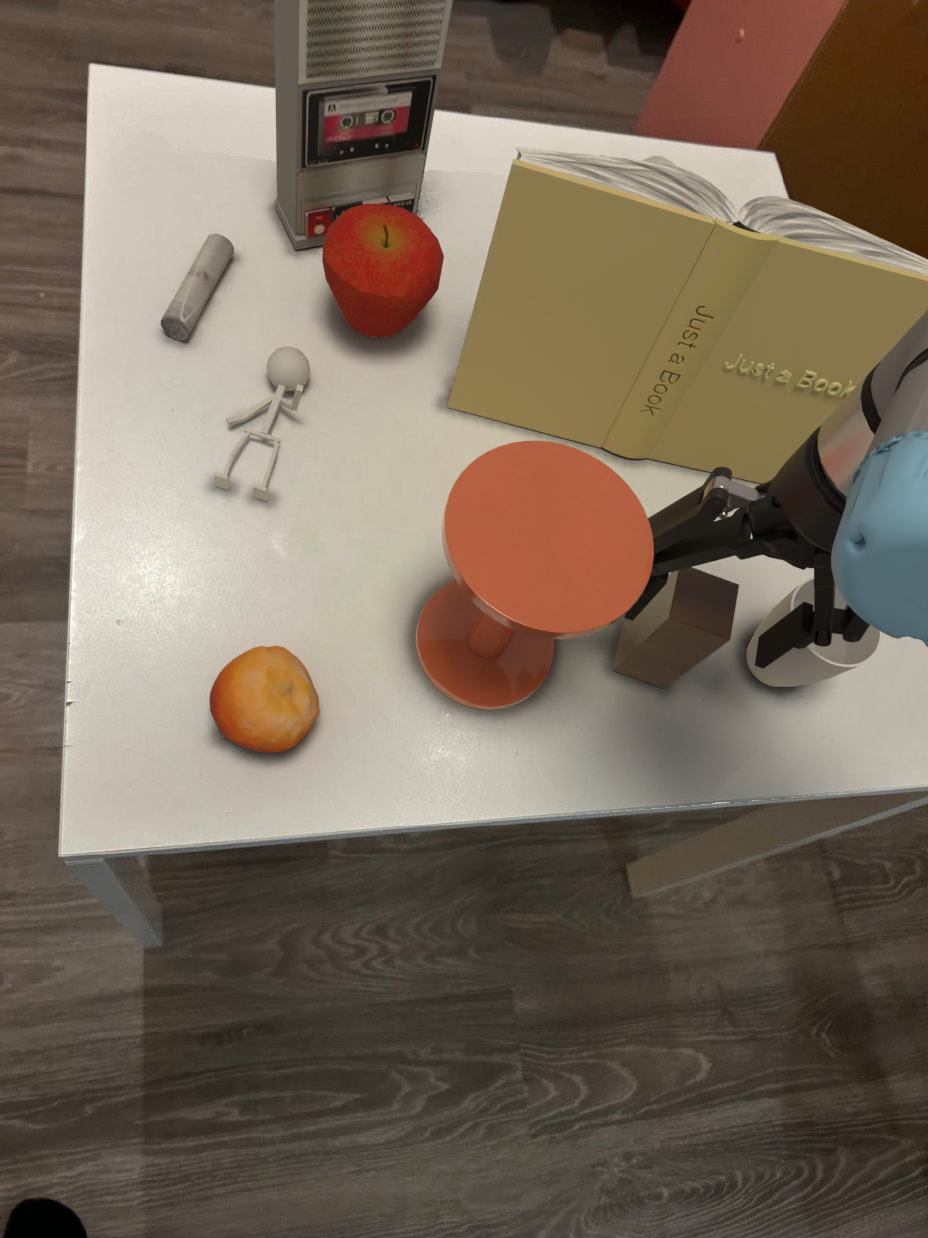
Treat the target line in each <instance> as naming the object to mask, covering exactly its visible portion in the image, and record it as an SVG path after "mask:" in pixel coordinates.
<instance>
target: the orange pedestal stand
mask: <svg viewBox="0 0 928 1238" xmlns="http://www.w3.org/2000/svg"><path fill="white" fill-rule="evenodd" d="M648 518H649V517H648V516H647V513H646V511H645V509H644V506H643V505H642V503H641V500H639V497H638V496H637V494H635V491H633V489H632V488H631V487H630V485H629V484H628V483H627V482H626V481H625V480H624V479H623V478H622V477H621V475H619V474H618V473H617V472H616V471H615V470H613V469H612V467H610V466H608V465H607V464H606V463H604V462H603V461H601V460H600V459H598V458H597V457H595V456H594V455H591V454H589V453H588V452H585V451H583V450H581V449H578V448H576V447H573V446H569V445H567V444H563V443H559V442H553V441H547V440H521V441H515V442H510V443H507V444H502V445H500V446H497V447H495V448H494V447H493V448H492V449H490V450H488V451H486V452H484V453H483V454H481V455H480V456H477V458H475V459H474V460H473V461H472V462H470V463H469V464H468V465H467V466H466V467H465V468H464V469H463V471H462V472H461V473H460V474H459V476H458V477H457V479H456V480H455V481H454V483H453V486H452V488H451V490H450V491H449V494H448V497H447V499H446V503H445V506H444V509H443V515H442V519H441V520H442V521H441V542H442V547H443V552H444V553H443V554H444V556H445V559H446V562H447V565H448V568H449V569H450V572H451V575H452V576H453V578H454V580H452V581H450V582H448V583H446V584H445V585H443V586H441V587H440V588H439V589H438V590H436V592H435V593H433V594H432V595H431V596H430V598H429V599H428V600H427V601H426V603H425V605H424V606H423V609H422V611H421V613H420V615H419V617H418V621H417V625H416V630H415V647H416V654H417V659H418V661H419V664H420V665H421V668H422V670H423V672H424V674H425V675H426V677H427V679H429V681H430V683H432V684H433V686H434V687H435V688H436V689H437V690H438V691H439V692H440V693H442V694H443V695H444V696H446V697H447V698H448V699H450V700H452V701H454V702H456V703H458V704H460V705H463V706H465V707H469V708H472V709H477V710H484V711H485V710H486V711H488V710H489V711H492V710H502V709H507V708H509V707H512V706H515V705H518V704H520V703H521V702H523V701H525V700H526V699H528V698H529V697H531V695H533V694H534V693H535V692H536V691H537V690H538V688H539V687H540V686H542V684H543V682H544V681H545V680H546V678H547V676H548V674H549V673H550V670H551V668H552V664H553V662H554V661H553V660H554V655H555V641H554V640H570V639H578V638H582V637H588V636H591V635H594V634H597V633H598V632H601V631H604V630H605V629H607V628H609V627H610V626H612V625H614V624H615V623H616V622H618V621H619V620H620V619H621V618H622V617H624V615H625V613H626V612H627V611H628V610H629V609H630V608H631V607H632V606H633V605H634V604H635V603H636V602H637V600H638V599H639V597H640V596H641V594H642V593H643V592H644V589H645V587H646V585H647V583H648V581H649V578H650V575H651V571H652V566H653V559H654V543H653V536H652V530H651V527H650V523H649V520H648Z"/></svg>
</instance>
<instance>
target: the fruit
mask: <svg viewBox="0 0 928 1238" xmlns="http://www.w3.org/2000/svg"><path fill="white" fill-rule="evenodd" d="M208 701H209V711H210V714H211V716H212V719H213V721H214V723H215V725H216V726H217V728H218V730H219V731H220V732H221V734H222V735H221V736H220V737H219V739H220V740H223V739H225V738H226V739H228V740H229V741H230V742H232V743H233V744H234V745H237V746H239V747H241V748H243V749H246V750H249V751H254V752H258V753H265V754H267V753H268V754H269V753H281V752H284V751H287V750H290V749H293V748H294V747H295V746H297V744H299V743H300V742H301V741H302V740H303V739H304V738H305V737H306V736H307V735H308V734H309V732H310V731H311V730H312V728H313V726H314V724H315V723H316V721H317V719H318V717H319V715H320V712H321V710H320V698H319V695H318V692H317V689H316V688H315V685H314V683H313V680H312V676H311V675H310V673H309V671H308V669H307V668H306V666H305V664H304V663H303V662H302V661H301V660H300V658H299V657H298V656H296V655H295V654H293V653H292V652H291V651H290V650H289V649H287V648H285V647H284V646H280V645H273V646H263V645H260V646H255V647H252V648H251V649H248V650H246V651H245V652H243V653H241V654H239V655H237V656H236V657H235V658H233V659H231V660H230V661H229V662H228V663H227V664H226V665H225V666H224V667H222V669H221V670H220V672H219V673H218V674H217V676H216V678H215V680H214V682H213V684H212V686H211V689H210V692H209V700H208Z"/></svg>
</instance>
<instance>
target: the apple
mask: <svg viewBox="0 0 928 1238" xmlns="http://www.w3.org/2000/svg"><path fill="white" fill-rule="evenodd" d="M440 243H441V242H440V240H439V238H438V237H437V236H436V235H435V233H434V232H433V231H432V229H430V227H429V226H428V225H427V224H426V223H425V221H424V220H423V219H422V218H421V217H420V215H419V216H417V215H415V214H413V213H411V212H410V211H408V210H406V209H404V208H401V207H396V206H391V205H386V204H363V205H359V206H356V207H352V208H350V209H348V210H347V211H345V212H343V213H342V214H341V215H340V216H339V217H338V218H337V219H336V220H335V221H334V222H333V223H332V224H331V225H330V226H329V228H328V231H327V234H326V237H325V240H324V242H323V245H322V259H321V261H322V268H323V271H324V272H323V273H324V277H325V281H326V283H327V286H328V288H329V290H330V292H331V294H332V296H333V299H334V301H335V302H336V305H337V307H338V309H339V311H340V313H341V315H342V317H343V319H344V321H345V323H346V324H347V325H348V326H349V327H350V328H351V330H352V331H354V332H356V333H358V334H360V335H363V336H364V337H371V338H390V337H393V336H396V335H398V334H400V333H402V332H403V331H404V330H406V328H407V327H409V325H411V324H412V323H413V322H414V321H415V320H416V319H417V317H418V316H419V315H420V314H421V312H423V310H424V309H425V307H427V305H428V303H429V302H430V301H431V300H432V299H433V297H434V296H435V295H436V294H437V292H438V291H439V288H440V281H441V276H442V272H443V271H442V270H443V265H444V259H445V255H444V252H443V250H442V249H443V248H442V247H441V244H440Z"/></svg>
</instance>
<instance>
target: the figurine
mask: <svg viewBox="0 0 928 1238" xmlns="http://www.w3.org/2000/svg"><path fill="white" fill-rule="evenodd" d="M266 373H267V376H268V379H269V380H270V382H271V383H272V384H273V385H274V386H275V387H276V390H275V393H271V394H269V395H268V396H267V397H266V398H263V399H262V400H261V401H260V402H258V403H256V404H255V405H254V406H252V407H251V408H249V409H247V410H246V411H245V412H243V413H242V414H239V415H234V416H230V417H228V418H225V420H226V423H227V425H229V426H234V425H236V424H241V423H244V422H246V421H248V420H249V419H251V418H253V417H254V416H255V415H257V414H258V413H260V412H261V411H263V410H264V409H265V408H267V407H269V408H268V410H267V413H266V416H265V419H264V422H263V425H262V427H261V430H260V431H257V430H255V429H252V428H248V427H244V430H243V433H244V434H243V435H242V436H241V438H240V439H239V440H238V442H237V443H236V445H235V446H234V448H233V449H232V450H231V452H230V453H229V455H228V456H229V457H228V459H227V461H226V464H225V467H224V471H223V473H220V472H216V471H215V472H214V475H213V477H214V482H215V486H216V487H217V488H219V489H224V490H227V491H230V489H231V482H230V479H229V475H230V474H229V473H230V470H231V468H232V464H233V462H234V459H235V457H236V456H237V454H238V452H239V451H240V449H242V447H243V445H244V444H245V442H246V441H247V440H248V438H249V437H250V436H254V437H257V438H260V439H264V440H266V441H270V442H273V450H272V452H271V455H270V459H269V461H268V464H267V467H266V471H265V473H264V477H263V480H262V482H261V485H260V484H257V483H253V486H252V489H253V497H254V499H257V500H261V501H263V502H268V500H269V493H268V492H269V491H268V487H267V485H268V482H269V479H270V476H271V473H272V470H273V467H274V465H275V461H276V458H277V456H278V451H279V444H281V442H282V438H280V437H277V436H274V435H271V434H269V433H270V431H271V428H272V426H273V424H274V421H275V419H276V416H277V414H278V411H279V409H280V406H282V407H284V408H286V409H287V410H290V411H292V412H293V411H295V412H297V411H298V408H299V404H300V401H301V399H302V395H303V392H304V386H305V385H306V384H307V382H308V380H309V378H310V374H311V366H310V362H309V359H308V358H307V356H306V354H305V353H303V352H302V351H301V350H300V349H298V348H297V347H293V346H281V347H278V348H276V349H275V350H274V351H272V353H271V354H270V355H269V357H268V359H267V362H266ZM285 392H294V394H293V398H292V401H291V400H289V399H287V398H285V397H284V395H285Z"/></svg>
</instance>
